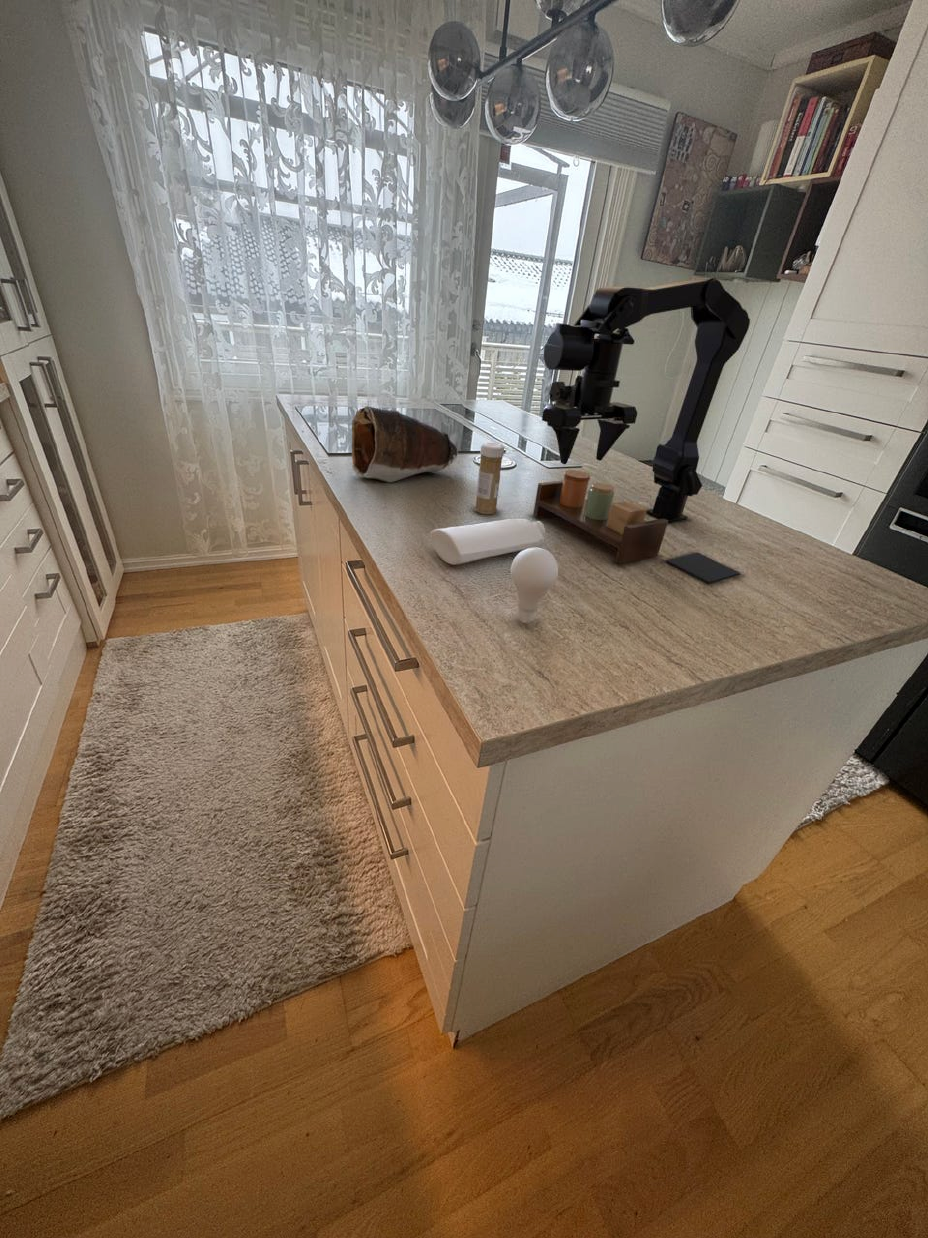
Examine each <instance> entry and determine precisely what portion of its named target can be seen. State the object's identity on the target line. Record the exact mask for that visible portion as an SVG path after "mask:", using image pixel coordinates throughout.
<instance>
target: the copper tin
mask: <svg viewBox="0 0 928 1238" xmlns="http://www.w3.org/2000/svg"><path fill="white" fill-rule="evenodd" d="M590 479H591V474H589V473H588V472H585V471H582V470H575V469H568V470H565V471H564V473H563V480H564V481H563V486H562V491H561V496H560V501H559V502H560V503H561V504H562V505H564V506H567V507H572V508H579V507H582V506H583V505H584V500H585V499H586V495H587V490H588V487H589V482H590Z"/></svg>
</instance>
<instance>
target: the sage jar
mask: <svg viewBox="0 0 928 1238" xmlns="http://www.w3.org/2000/svg"><path fill="white" fill-rule="evenodd" d="M614 495H615V491H614V486H613V485H611V484H608V483H603V482H593V483H591V487H589V489H588V494H587V498H586V500H587V502H586V507H585V511H584V515H585V516H586V517H588V518H591V519H594V520H606V519H608V516H609V512H610V509H611V505H612V503H613V500H614V497H615V496H614Z"/></svg>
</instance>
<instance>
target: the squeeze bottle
mask: <svg viewBox="0 0 928 1238" xmlns="http://www.w3.org/2000/svg"><path fill="white" fill-rule="evenodd" d="M545 532H546V531H545V525H544V524H543V523H542V521H540V520H536V521H531V520H528V519H527V518H507V519H501V520H495V521H494V520H493V521H487V522H483V523H482V522H480V523H477V524H476V523H475V524H467V525H460V526H451V527H445V528H443V527H442V528H436V529H433V530H432V531H430V542H431V543H430V544H431V545H432V547H433V549H434V551H435V552H436V554H437V556H439V558H441V560H443V561H444V562H445V563H447V564H448V565H453V566H455V565H461V564H467V563H470V562H476V561H479V560H483V559H488V558H492V557H496V556H501V555H506V554H511V553H517V552H522V551H523V550H525V549H528V548H533V547H538V548H539V546H543V545H544V541H545V537H544V536H545Z"/></svg>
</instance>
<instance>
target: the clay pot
mask: <svg viewBox="0 0 928 1238" xmlns="http://www.w3.org/2000/svg"><path fill="white" fill-rule="evenodd" d="M458 456H459V451H458V448H457V446H456V445H455V443H454V442H452V440H450V437H449V434H448V433H446V432H445V431H440V430H438V429H437V428H435V427H434V426H431V425H430V424H429V423H426V422H423V421H420V420H419V419H417V418H415V417H411V416H408V415H406V414H403V413H401V412H400V411H399V410H390V409H389V410H388V409H383V408H378V407H373V406H364V407H362V408H359V409H358V410H357V411H356V412H355V414H354V418H353V419H352V422H351V460H352V469H353V471H354V473H355V475H356V476H357V477H359V478H366V479H372V480H376V481H381V482H386V483H389V484H390V483H394V482H397V481H400V480H402V479H405V478H407V477H411V476H414V475H417V474H421V473H425V472H432V473H439V472H441V471H443V470H445V469H446V468H447V467H450V466H451V465H452V464H453V463H455V460H456V459H458Z"/></svg>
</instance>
